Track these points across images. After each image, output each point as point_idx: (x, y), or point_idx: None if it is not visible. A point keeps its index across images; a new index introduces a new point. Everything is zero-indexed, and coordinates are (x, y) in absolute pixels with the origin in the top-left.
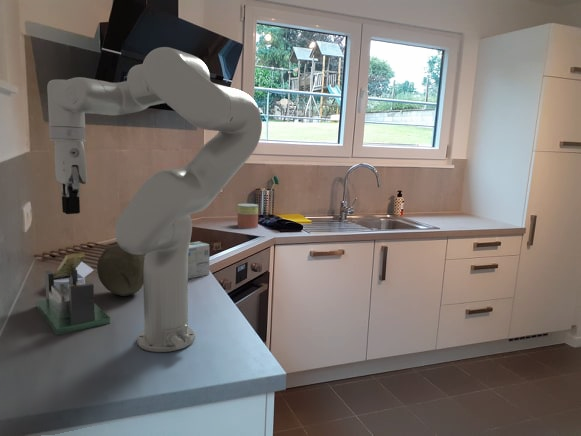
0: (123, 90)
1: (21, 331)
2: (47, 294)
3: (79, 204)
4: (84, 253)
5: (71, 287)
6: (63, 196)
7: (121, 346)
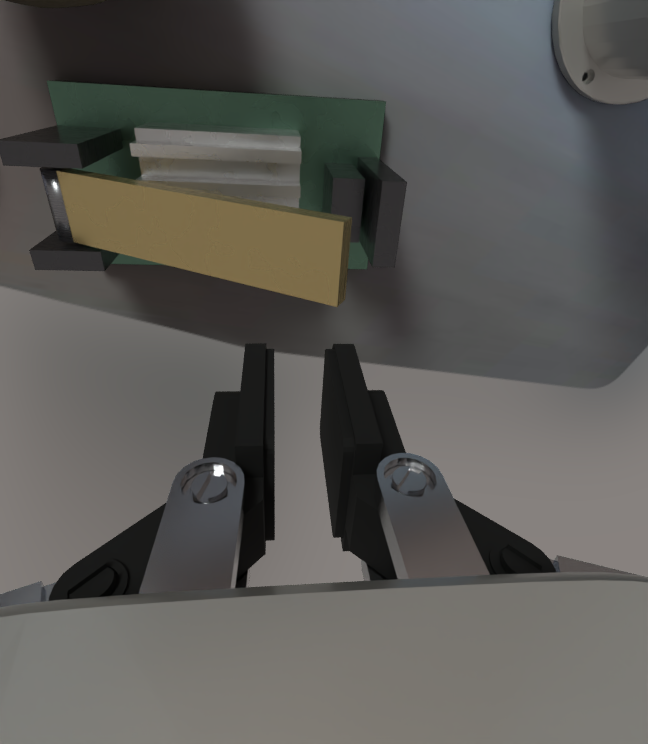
0: None
1: (284, 323)
2: None
3: (365, 387)
4: (344, 222)
5: (387, 262)
6: (264, 547)
7: (556, 144)
